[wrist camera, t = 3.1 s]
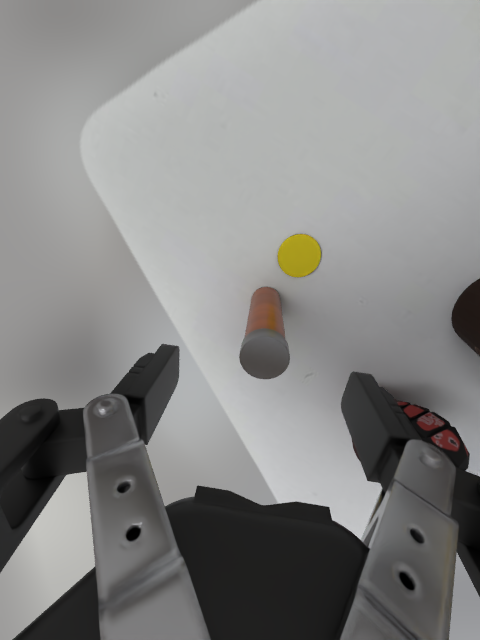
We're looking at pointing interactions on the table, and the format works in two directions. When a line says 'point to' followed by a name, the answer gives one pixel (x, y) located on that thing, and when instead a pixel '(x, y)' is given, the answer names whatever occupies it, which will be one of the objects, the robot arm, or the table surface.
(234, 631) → the robot arm
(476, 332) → the coffee mug
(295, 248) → the disc
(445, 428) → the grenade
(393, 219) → the table surface
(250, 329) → the orange and grey cylinder
